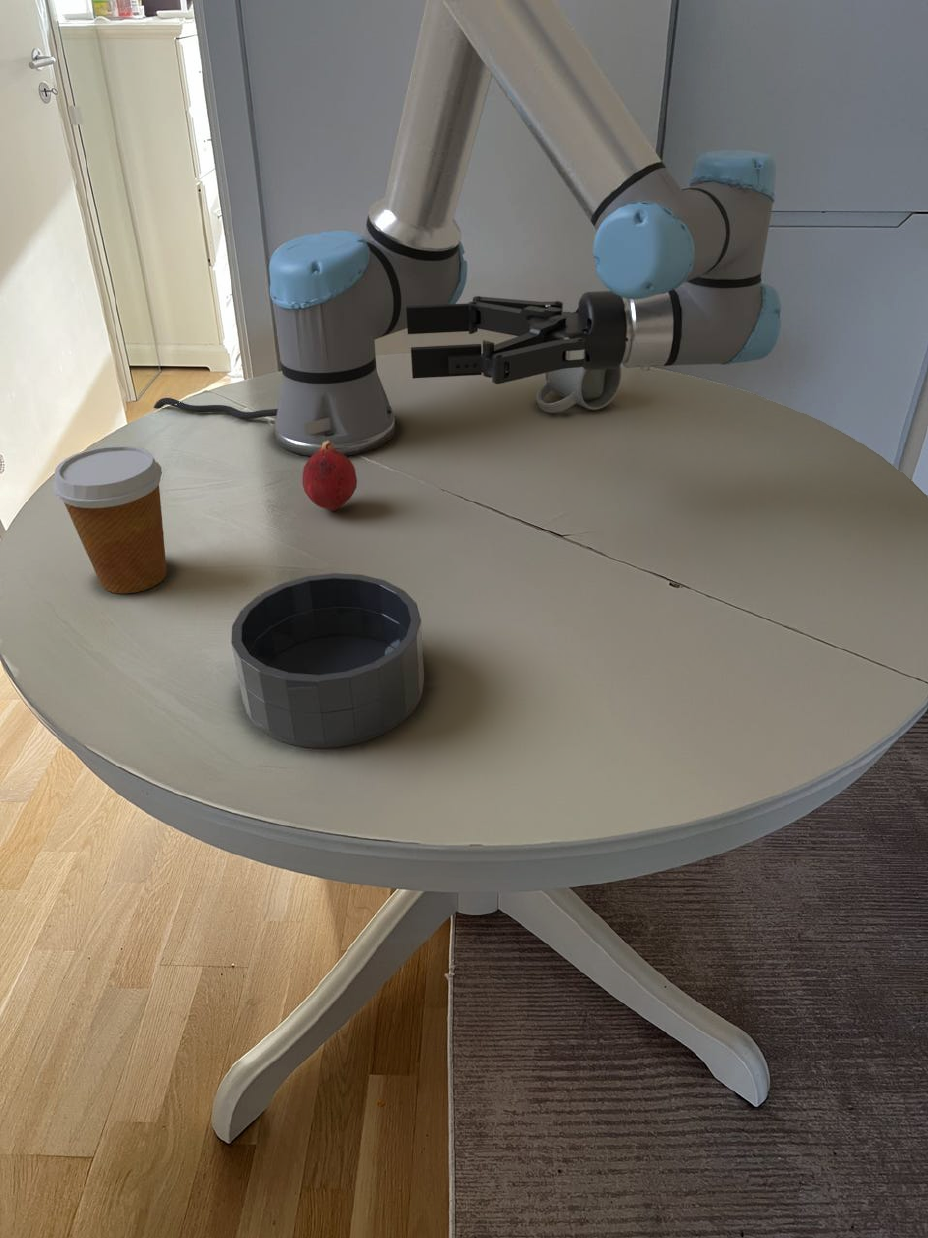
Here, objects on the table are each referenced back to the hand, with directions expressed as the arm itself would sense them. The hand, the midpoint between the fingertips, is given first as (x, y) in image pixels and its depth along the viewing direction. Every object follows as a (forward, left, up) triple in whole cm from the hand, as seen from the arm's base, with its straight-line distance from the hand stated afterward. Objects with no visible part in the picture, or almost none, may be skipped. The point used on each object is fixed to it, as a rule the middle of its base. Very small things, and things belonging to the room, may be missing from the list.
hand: (408, 340), depth 91 cm
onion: (-6, -7, -19) cm, 21 cm away
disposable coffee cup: (-10, -29, -19) cm, 36 cm away
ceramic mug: (-5, +35, -19) cm, 40 cm away
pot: (+18, -27, -18) cm, 37 cm away
